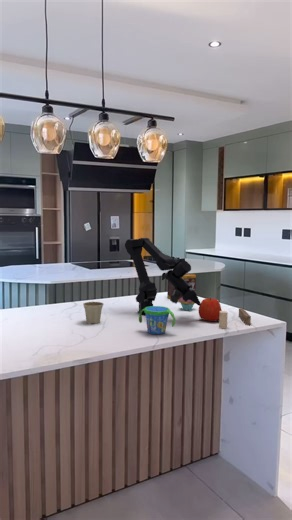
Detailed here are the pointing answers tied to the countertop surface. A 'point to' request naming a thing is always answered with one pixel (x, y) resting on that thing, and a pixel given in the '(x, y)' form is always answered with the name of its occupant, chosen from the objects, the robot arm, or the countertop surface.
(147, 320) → the snack cup
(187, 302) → the cupcake
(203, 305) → the apple
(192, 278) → the supplement box
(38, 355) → the countertop surface
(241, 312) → the batten
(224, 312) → the beige upright piece
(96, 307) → the flower pot
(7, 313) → the countertop surface
